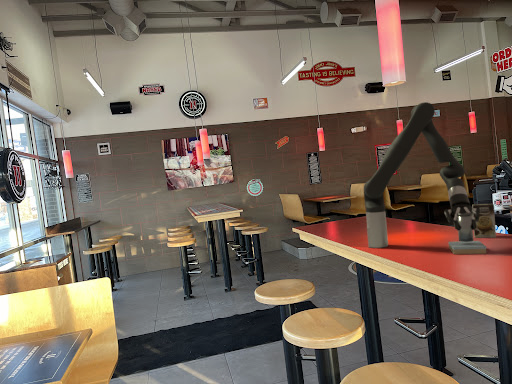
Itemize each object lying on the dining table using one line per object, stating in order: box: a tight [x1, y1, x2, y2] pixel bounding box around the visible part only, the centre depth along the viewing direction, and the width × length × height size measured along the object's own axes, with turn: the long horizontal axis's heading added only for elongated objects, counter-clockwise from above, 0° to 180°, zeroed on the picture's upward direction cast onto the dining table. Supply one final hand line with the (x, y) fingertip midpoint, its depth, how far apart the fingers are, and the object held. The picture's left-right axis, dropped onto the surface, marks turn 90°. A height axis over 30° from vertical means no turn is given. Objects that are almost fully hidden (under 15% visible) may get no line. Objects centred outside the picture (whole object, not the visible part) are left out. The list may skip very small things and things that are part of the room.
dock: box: [448, 240, 487, 255], centre depth 160 cm, size 12×12×3 cm
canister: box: [457, 212, 474, 242], centre depth 160 cm, size 6×6×12 cm
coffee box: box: [471, 203, 497, 239], centre depth 186 cm, size 9×6×16 cm
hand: (466, 228), depth 158 cm, fingers closed on canister, 5 cm apart
